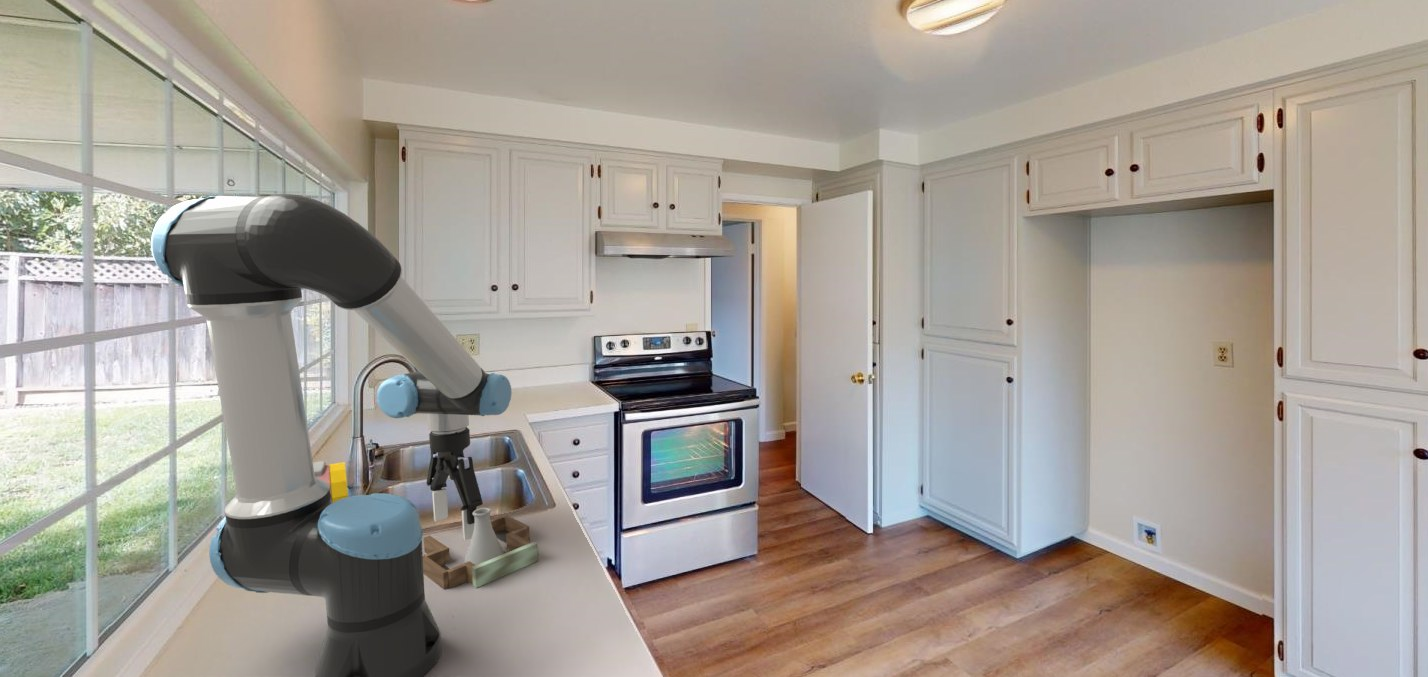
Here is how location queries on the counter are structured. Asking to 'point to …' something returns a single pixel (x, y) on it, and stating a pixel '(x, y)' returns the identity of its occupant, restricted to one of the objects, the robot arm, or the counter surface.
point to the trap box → (487, 571)
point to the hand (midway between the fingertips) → (455, 528)
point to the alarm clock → (333, 478)
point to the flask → (483, 539)
